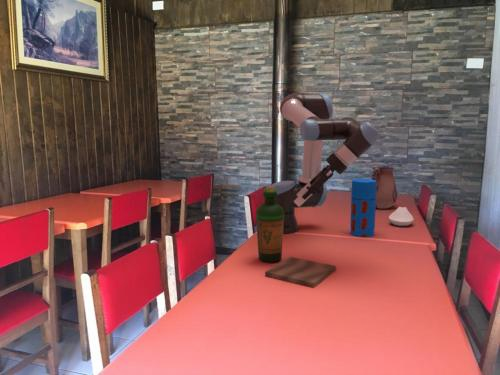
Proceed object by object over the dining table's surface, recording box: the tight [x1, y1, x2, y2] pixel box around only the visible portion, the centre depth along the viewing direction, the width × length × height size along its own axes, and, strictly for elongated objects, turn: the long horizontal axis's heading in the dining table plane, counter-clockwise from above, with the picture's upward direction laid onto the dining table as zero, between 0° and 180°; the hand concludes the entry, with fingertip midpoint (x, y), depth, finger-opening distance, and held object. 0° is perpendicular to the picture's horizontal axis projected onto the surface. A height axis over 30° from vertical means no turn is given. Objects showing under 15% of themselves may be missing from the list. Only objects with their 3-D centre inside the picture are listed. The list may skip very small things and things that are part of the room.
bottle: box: [255, 185, 284, 264], centre depth 148 cm, size 11×11×28 cm
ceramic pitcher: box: [370, 165, 398, 210], centre depth 236 cm, size 18×21×25 cm
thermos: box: [349, 178, 377, 238], centre depth 181 cm, size 11×11×25 cm
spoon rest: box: [388, 206, 415, 227], centre depth 204 cm, size 24×12×7 cm, turn 158°
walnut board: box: [264, 256, 337, 288], centre depth 136 cm, size 18×18×2 cm
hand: (297, 200), depth 144 cm, fingers open, 13 cm apart
